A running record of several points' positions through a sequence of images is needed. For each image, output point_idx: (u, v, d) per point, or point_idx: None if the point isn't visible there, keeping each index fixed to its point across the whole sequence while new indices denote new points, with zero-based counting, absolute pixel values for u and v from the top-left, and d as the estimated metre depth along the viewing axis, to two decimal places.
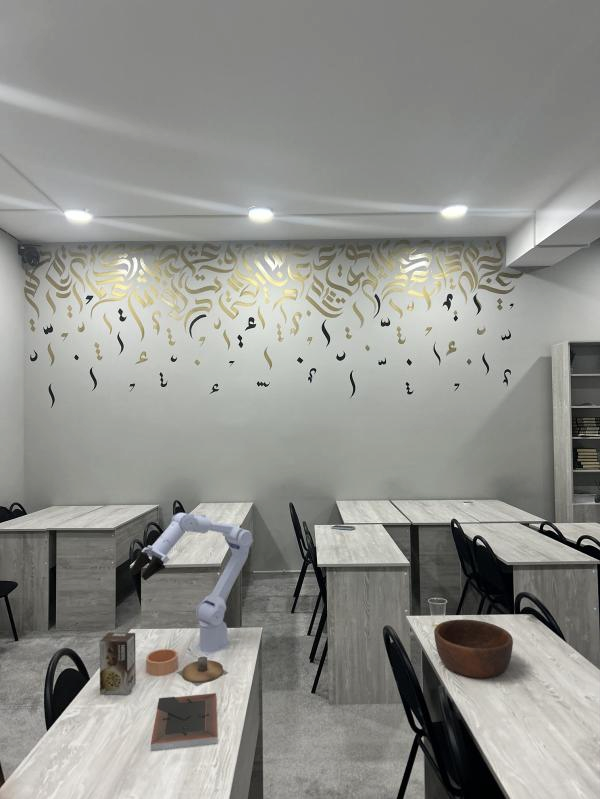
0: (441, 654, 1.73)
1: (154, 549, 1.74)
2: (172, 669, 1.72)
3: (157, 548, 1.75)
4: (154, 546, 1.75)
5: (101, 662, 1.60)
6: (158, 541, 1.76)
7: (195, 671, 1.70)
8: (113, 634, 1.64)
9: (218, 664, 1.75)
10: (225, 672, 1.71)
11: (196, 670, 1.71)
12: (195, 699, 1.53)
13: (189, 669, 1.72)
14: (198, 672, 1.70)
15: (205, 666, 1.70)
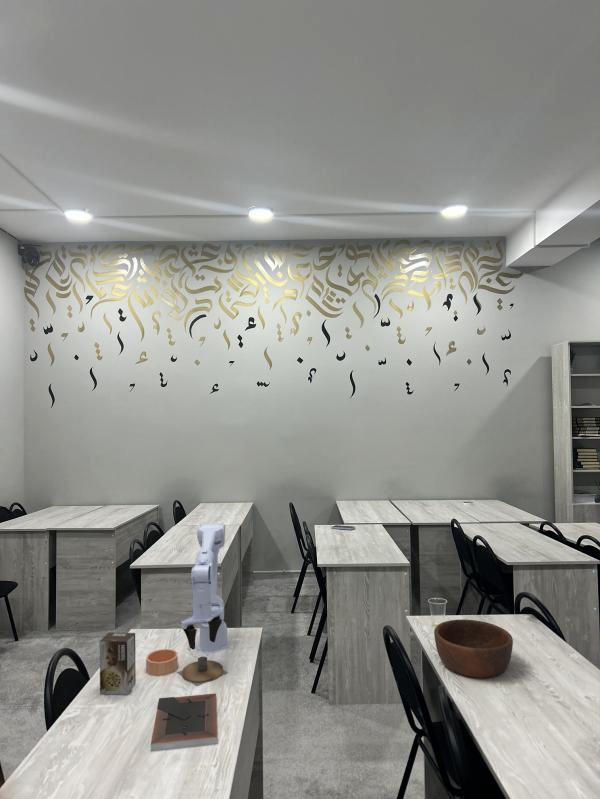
0: (441, 654, 1.73)
1: (211, 617, 1.71)
2: (172, 669, 1.72)
3: (210, 614, 1.72)
4: (208, 615, 1.70)
5: (101, 662, 1.60)
6: (208, 609, 1.70)
7: (195, 671, 1.70)
8: (113, 634, 1.64)
9: (218, 664, 1.75)
10: (225, 672, 1.71)
11: (196, 670, 1.71)
12: (195, 699, 1.53)
13: (189, 669, 1.72)
14: (198, 672, 1.70)
15: (205, 666, 1.70)
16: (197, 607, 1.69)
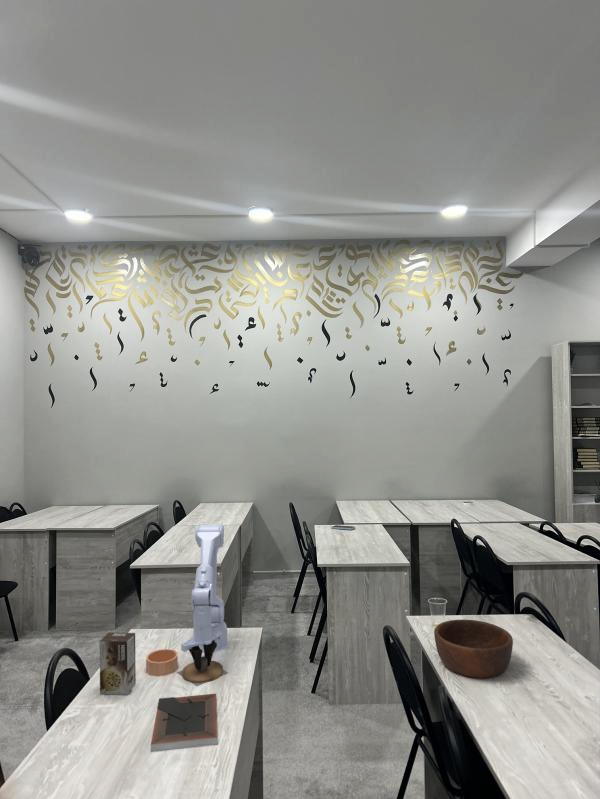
0: (441, 654, 1.73)
1: (211, 639, 1.71)
2: (172, 669, 1.72)
3: (211, 636, 1.71)
4: (208, 638, 1.70)
5: (101, 662, 1.60)
6: (208, 631, 1.70)
7: (195, 671, 1.70)
8: (113, 634, 1.64)
9: (218, 664, 1.75)
10: (225, 672, 1.71)
11: (196, 670, 1.71)
12: (195, 699, 1.53)
13: (189, 668, 1.72)
14: (198, 672, 1.70)
15: (205, 666, 1.70)
16: (197, 629, 1.69)
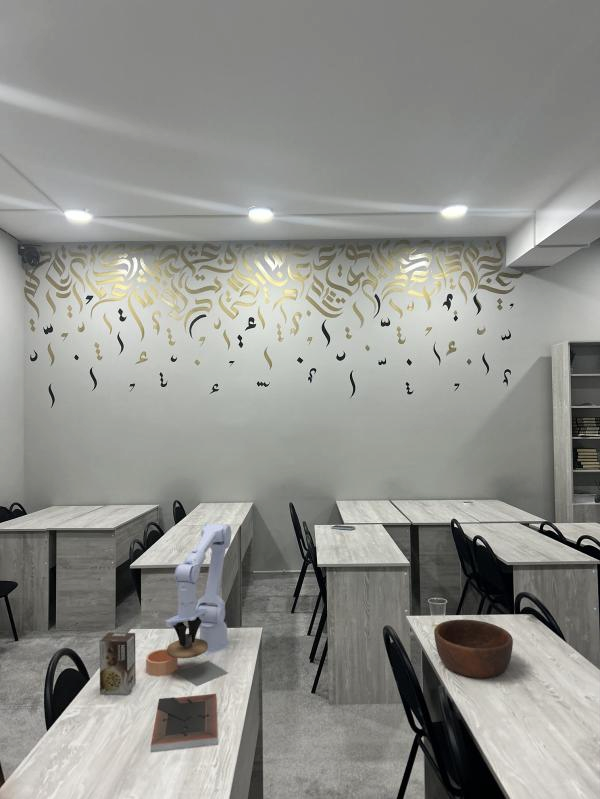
0: (441, 654, 1.73)
1: (195, 616, 1.72)
2: (172, 669, 1.72)
3: (195, 612, 1.73)
4: (193, 614, 1.72)
5: (101, 662, 1.60)
6: (192, 608, 1.72)
7: (180, 648, 1.71)
8: (113, 634, 1.64)
9: (203, 641, 1.76)
10: (225, 672, 1.71)
11: (181, 647, 1.72)
12: (195, 700, 1.53)
13: (173, 646, 1.73)
14: (182, 648, 1.71)
15: (190, 643, 1.72)
16: (182, 606, 1.71)
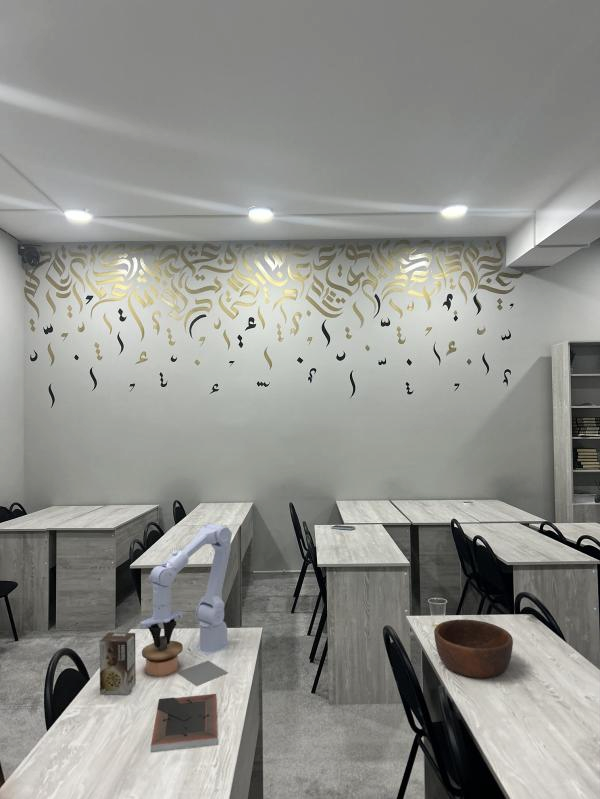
0: (441, 654, 1.73)
1: (170, 618, 1.74)
2: (172, 669, 1.72)
3: (170, 614, 1.75)
4: (167, 616, 1.74)
5: (101, 662, 1.60)
6: (167, 610, 1.74)
7: (154, 650, 1.73)
8: (113, 634, 1.64)
9: (178, 643, 1.78)
10: (225, 672, 1.71)
11: (156, 649, 1.74)
12: (195, 700, 1.53)
13: (149, 648, 1.75)
14: (157, 650, 1.73)
15: (165, 644, 1.74)
16: (156, 608, 1.73)
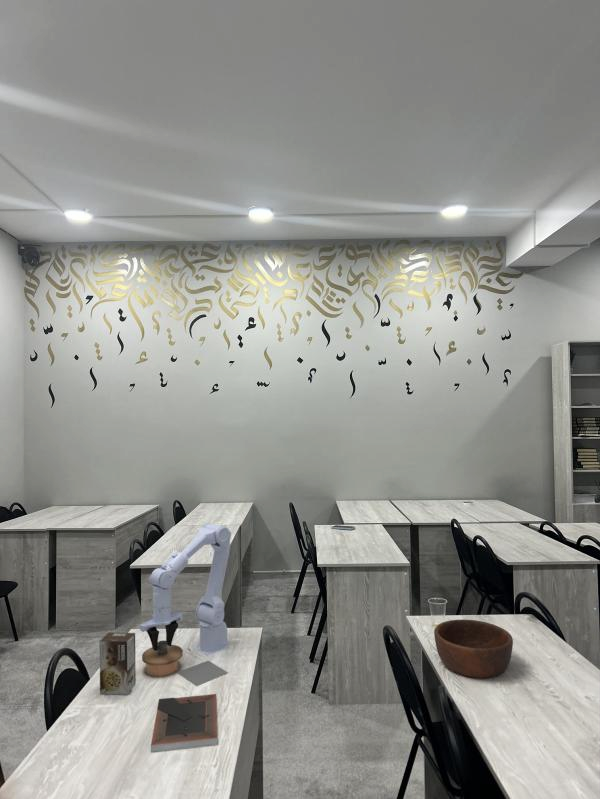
0: (441, 654, 1.73)
1: (170, 620, 1.74)
2: (172, 669, 1.72)
3: (170, 617, 1.75)
4: (167, 618, 1.74)
5: (101, 662, 1.60)
6: (167, 612, 1.74)
7: (155, 655, 1.73)
8: (113, 634, 1.64)
9: (178, 648, 1.78)
10: (225, 672, 1.71)
11: (156, 654, 1.74)
12: (195, 700, 1.53)
13: (149, 652, 1.75)
14: (157, 655, 1.73)
15: (165, 649, 1.74)
16: (156, 610, 1.73)
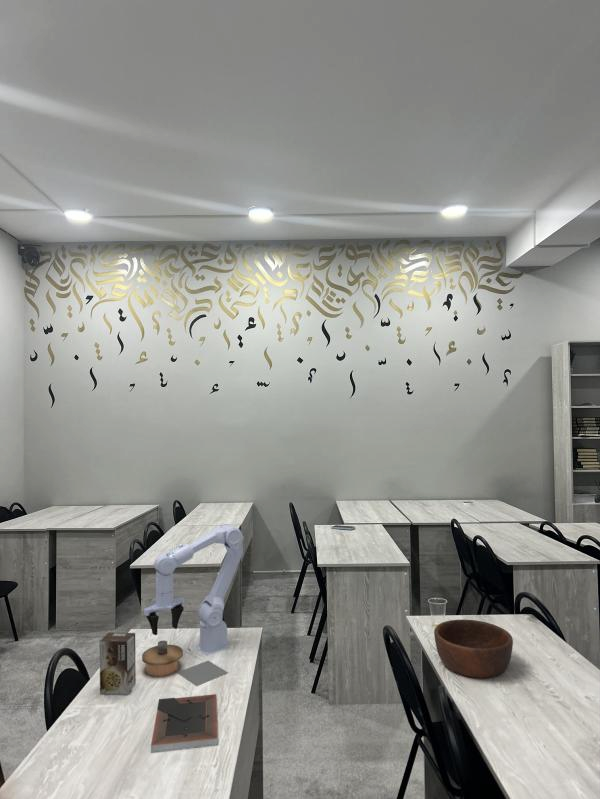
0: (441, 654, 1.73)
1: (172, 605, 1.81)
2: (172, 669, 1.72)
3: (172, 602, 1.82)
4: (170, 603, 1.81)
5: (101, 662, 1.60)
6: (170, 597, 1.81)
7: (155, 655, 1.73)
8: (113, 634, 1.64)
9: (178, 648, 1.78)
10: (225, 672, 1.71)
11: (156, 654, 1.74)
12: (195, 700, 1.52)
13: (149, 652, 1.75)
14: (157, 655, 1.73)
15: (165, 649, 1.74)
16: (159, 595, 1.80)
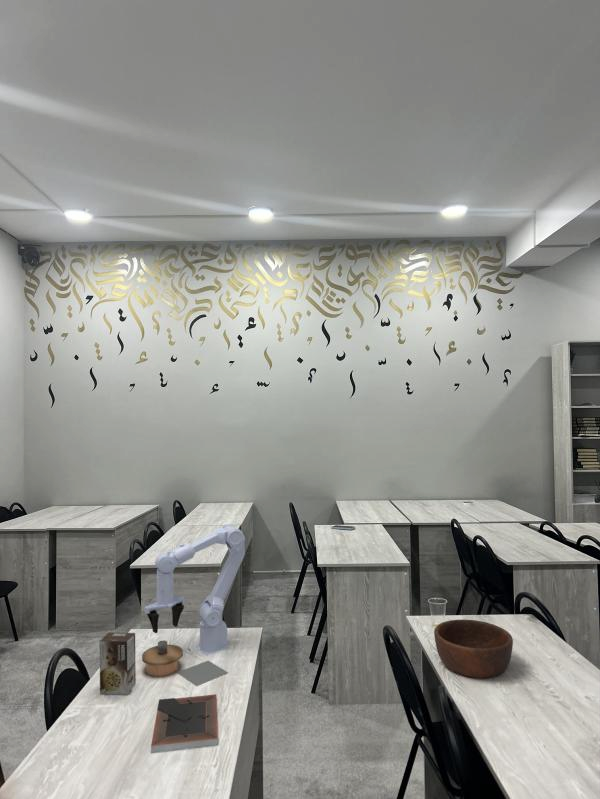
0: (441, 654, 1.73)
1: (173, 603, 1.83)
2: (172, 669, 1.72)
3: (173, 600, 1.84)
4: (170, 601, 1.82)
5: (101, 662, 1.60)
6: (170, 595, 1.82)
7: (155, 655, 1.73)
8: (113, 634, 1.64)
9: (178, 648, 1.78)
10: (225, 672, 1.71)
11: (156, 654, 1.74)
12: (195, 700, 1.52)
13: (149, 652, 1.75)
14: (157, 655, 1.73)
15: (165, 649, 1.74)
16: (160, 593, 1.81)
